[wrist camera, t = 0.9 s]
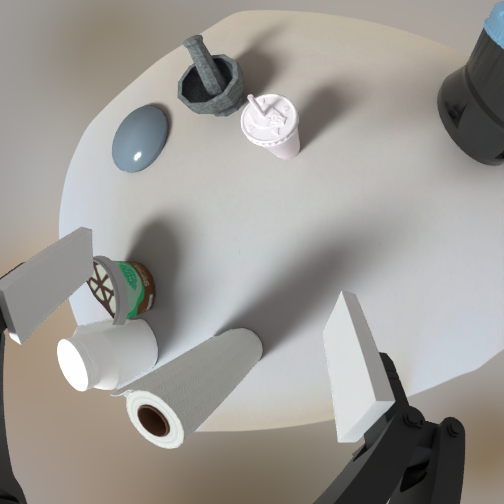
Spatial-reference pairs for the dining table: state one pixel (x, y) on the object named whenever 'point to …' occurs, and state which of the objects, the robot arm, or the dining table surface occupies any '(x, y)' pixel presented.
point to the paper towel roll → (190, 387)
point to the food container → (122, 288)
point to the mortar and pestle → (210, 81)
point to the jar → (107, 354)
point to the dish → (140, 139)
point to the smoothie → (272, 124)
